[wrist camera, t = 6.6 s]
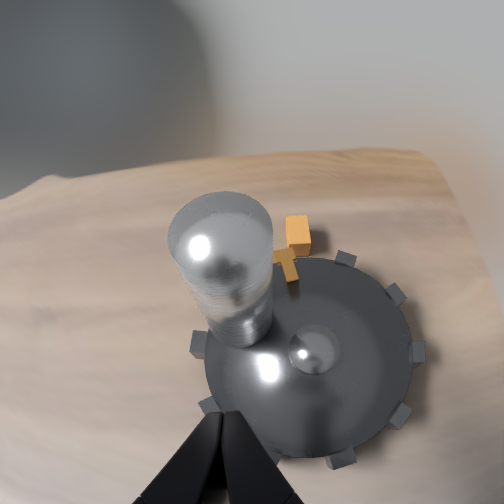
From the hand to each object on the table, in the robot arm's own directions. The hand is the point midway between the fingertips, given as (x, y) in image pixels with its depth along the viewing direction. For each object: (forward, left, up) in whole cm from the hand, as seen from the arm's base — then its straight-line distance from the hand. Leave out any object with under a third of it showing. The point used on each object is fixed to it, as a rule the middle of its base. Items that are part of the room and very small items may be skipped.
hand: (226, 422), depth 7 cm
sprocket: (0, -6, -13) cm, 14 cm away
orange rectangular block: (+7, -13, -13) cm, 19 cm away
